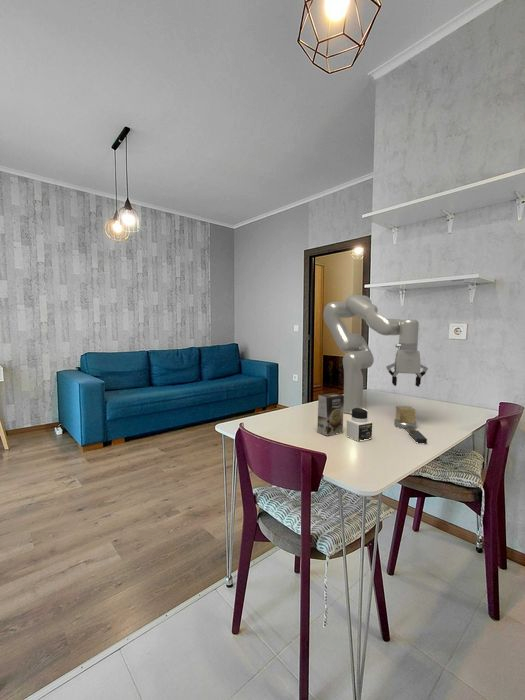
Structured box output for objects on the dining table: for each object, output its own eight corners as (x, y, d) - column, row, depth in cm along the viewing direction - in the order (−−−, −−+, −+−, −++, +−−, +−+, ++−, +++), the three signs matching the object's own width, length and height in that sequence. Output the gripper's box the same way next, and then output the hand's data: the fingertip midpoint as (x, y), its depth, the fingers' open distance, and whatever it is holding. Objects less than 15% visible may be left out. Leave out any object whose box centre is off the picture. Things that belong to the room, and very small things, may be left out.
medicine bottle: (358, 442, 129) (359, 412, 128) (346, 436, 135) (346, 407, 134) (372, 439, 132) (373, 409, 131) (359, 434, 139) (360, 405, 138)
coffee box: (327, 436, 135) (328, 397, 134) (316, 432, 140) (317, 394, 139) (343, 433, 140) (344, 395, 138) (332, 428, 145) (333, 392, 144)
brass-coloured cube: (399, 422, 147) (400, 409, 146) (395, 418, 153) (396, 405, 152) (414, 423, 146) (415, 410, 145) (410, 419, 152) (410, 406, 152)
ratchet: (409, 443, 128) (410, 427, 128) (392, 422, 155) (392, 409, 154) (434, 444, 127) (434, 428, 127) (412, 423, 153) (412, 410, 153)
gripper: (389, 347, 145) (387, 386, 146) (431, 348, 142) (429, 388, 144) (385, 346, 152) (383, 383, 153) (425, 347, 150) (423, 384, 151)
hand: (405, 385), depth 149 cm, fingers open, 9 cm apart
